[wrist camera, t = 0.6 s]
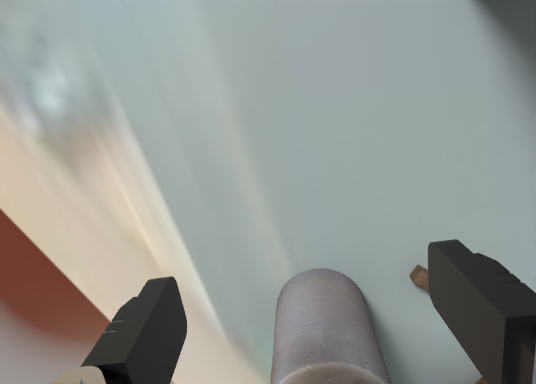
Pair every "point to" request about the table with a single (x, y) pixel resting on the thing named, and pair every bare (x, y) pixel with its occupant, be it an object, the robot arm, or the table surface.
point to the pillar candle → (325, 333)
